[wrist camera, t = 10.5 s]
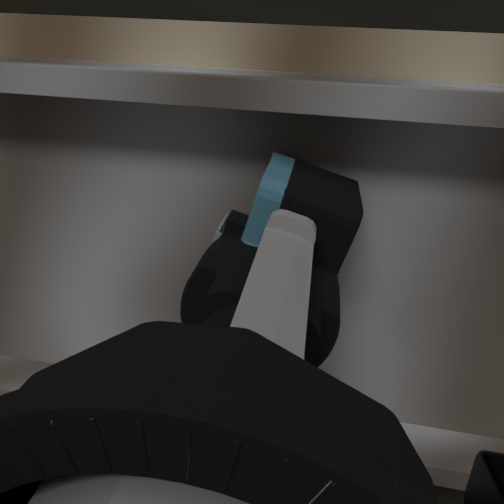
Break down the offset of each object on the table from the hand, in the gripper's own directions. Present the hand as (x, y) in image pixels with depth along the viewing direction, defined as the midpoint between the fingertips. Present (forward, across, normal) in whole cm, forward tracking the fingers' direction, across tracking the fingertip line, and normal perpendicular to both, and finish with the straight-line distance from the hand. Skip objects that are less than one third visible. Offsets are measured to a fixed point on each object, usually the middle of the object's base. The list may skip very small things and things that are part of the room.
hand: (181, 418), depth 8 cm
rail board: (+7, 0, 0) cm, 7 cm away
